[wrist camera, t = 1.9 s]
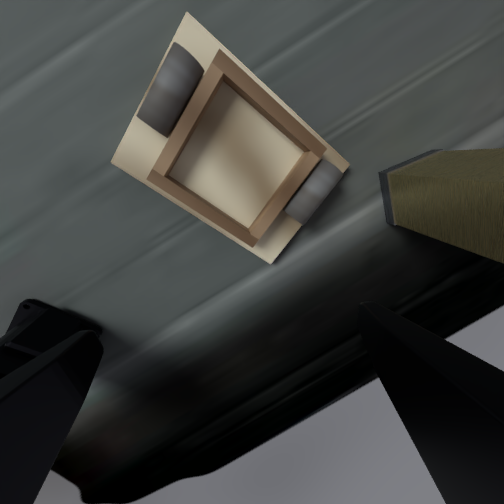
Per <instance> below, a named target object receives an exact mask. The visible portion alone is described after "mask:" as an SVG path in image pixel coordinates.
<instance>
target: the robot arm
mask: <svg viewBox="0 0 504 504" xmlns="http://www.w3.org/2000/svg"><path fill="white" fill-rule="evenodd" d="M28 305H29V306H28ZM357 324H358V328H359V331H360V333H361V336H362V338H363V341H364V343H365V346H366V348H367V351H368V353H369V356H370V358H371V360H372V363H373V365H374V368H375V370H376V372H377V375H378V377H379V378H380V380H381V382H382V384H383V386H384V388H385V390H386V392H387V394H388V396H389V397H390V399H391V401H392V403H393V405H394V407H395V409H396V411H397V413H398V414H399V416H400V418H401V420H402V422H403V424H404V426H405V428H406V429H407V431H408V433H409V435H410V437H411V439H412V440H413V443H414V444H415V446H416V448H417V450H418V452H419V454H420V456H421V458H422V460H423V461H424V463H425V465H426V467H427V469H428V471H429V473H430V475H431V476H432V478H433V480H434V482H435V484H436V486H437V488H438V490H439V491H440V493H441V495H442V497H443V499H444V501H445V503H446V504H504V371H502V370H500V369H498V368H496V367H494V366H493V365H491V364H489V363H487V362H485V361H483V360H481V359H480V358H478V357H476V356H474V355H472V354H470V353H468V352H467V351H465V350H463V349H461V348H459V347H457V346H456V345H454V344H452V343H450V342H448V341H446V340H444V339H443V338H441V337H439V336H437V335H435V334H433V333H432V332H430V331H428V330H426V329H424V328H422V327H420V326H419V325H417V324H415V323H413V322H411V321H409V320H408V319H406V318H404V317H402V316H400V315H398V314H396V313H395V312H393V311H391V310H389V309H387V308H385V307H383V306H382V305H380V304H378V303H376V302H374V301H368V302H361V303H360V305H359V311H358V320H357ZM95 332H97V333H95ZM102 332H103V331H102V329H101V328H100V327H98V326H96V325H93V324H91V323H88V322H86V321H83V320H81V319H79V318H76V317H74V316H71V315H69V314H66V313H64V312H61V311H59V310H57V309H54V308H52V307H49V306H47V305H44V304H42V303H39V302H37V301H35V300H32V299H26V300H24V301H23V302H21V303H20V305H19V307H18V309H17V311H16V313H15V315H14V317H13V320H12V322H11V324H10V326H9V328H8V330H7V332H6V334H5V335H4V336H2V337H1V338H0V504H33V503H34V501H35V499H36V497H37V495H38V493H39V491H40V489H41V487H42V485H43V483H44V481H45V479H46V477H47V475H48V473H49V471H50V469H51V467H52V465H53V463H54V461H55V459H56V457H57V455H58V453H59V451H60V449H61V447H62V445H63V443H64V441H65V439H66V437H67V435H68V433H69V431H70V429H71V427H72V425H73V423H74V421H75V419H76V417H77V415H78V413H79V411H80V409H81V407H82V405H83V403H84V400H85V398H86V396H87V393H88V391H89V388H90V386H91V383H92V381H93V378H94V376H95V373H96V371H97V368H98V366H99V363H100V360H101V358H102V355H103V352H104V348H103V345H102V343H101V342H100V340H99V337H100V335H101V334H102Z"/></svg>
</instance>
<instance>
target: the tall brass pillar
mask: <svg viewBox="0 0 504 504" xmlns="http://www.w3.org/2000/svg"><path fill="white" fill-rule="evenodd" d="M379 178H380V184H381V190H382V196H383V203H384V209H385V215H386V221H387V223H389V224H392V225H394V226H395V225H399V226H402V227H405V228H408V229H410V230H413V231H416V232H419V233H421V234H424V235H427V236H430V237H432V238H435V239H438V240H441V241H443V242H446V243H449V244H452V245H454V246H457V247H460V248H462V249H465V250H468V251H471V252H473V253H476V254H479V255H482V256H484V257H487V258H490V259H493V260H495V261H498V262H501V263H504V148H499V149H477V150H455V151H443V149H439V150H430V151H428V152H426V153H423V154H421V155H419V156H416V157H414V158H412V159H409V160H407V161H405V162H402V163H400V164H397V165H395V166H393V167H390V168H388V169H386V170H383V171H381V172H379Z"/></svg>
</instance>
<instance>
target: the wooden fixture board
mask: <svg viewBox="0 0 504 504" xmlns="http://www.w3.org/2000/svg"><path fill="white" fill-rule="evenodd" d="M111 163H113V164H114V165H116V166H117V167H119V168H120V169H122V170H124V171H125V172H127V173H128V174H130V175H131V176H133V177H134V178H136V179H138V180H139V181H141V182H142V183H144V184H145V185H147V186H149V187H150V188H152V189H153V190H155V191H156V192H158V193H160V194H161V195H163V196H164V197H166V198H167V199H169V200H171V201H172V202H174V203H175V204H177V205H178V206H180V207H182V208H183V209H185V210H186V211H188V212H189V213H191V214H193V215H194V216H196V217H197V218H199V219H200V220H202V221H204V222H205V223H207V224H208V225H210V226H211V227H213V228H215V229H216V230H218V231H219V232H221V233H222V234H224V235H226V236H227V237H229V238H230V239H232V240H233V241H235V242H237V243H238V244H240V245H241V246H243V247H244V248H246V249H248V250H249V251H251V252H252V253H254V254H255V255H257V256H259V257H260V258H262V259H263V260H265V261H266V262H268V263H270V264H272V262H273V261H274V260H275V259H276V257H277V256H278V255H279V254H280V252H281V251H282V250H283V248H284V247H285V246H286V245H287V243H288V242H289V241H290V240H291V238H292V237H293V236H294V235H295V233H296V232H297V231H298V230H299V228H300V227H301V226H302V225H303V226H304V225H305V223H306V222H307V221H308V220H309V218H310V217H311V216H312V215H313V213H314V212H315V211H316V210H317V208H318V207H319V206H320V205H321V203H322V202H323V201H324V200H325V198H326V197H327V196H328V194H329V193H330V192H331V191H332V189H333V188H334V187H335V186H336V184H337V183H338V182H339V181H340V179H341V178H342V177H343V173H344V171H345V170H346V169H347V168H348V166H349V165H350V164H349V163H348V162H347V161H346V160H345V159H344V158H343V157H342V156H341V155H340V154H338V153H337V152H336V151H335V150H334V149H333V148H332V147H331V146H330V145H329V144H328V143H327V142H326V141H325V140H324V139H322V138H321V137H320V136H319V135H318V134H317V133H316V132H315V131H314V130H313V129H312V128H311V127H310V126H309V125H308V124H306V123H305V122H304V121H303V120H302V119H301V118H300V117H299V116H298V115H297V114H296V113H295V112H294V111H293V110H292V109H290V108H289V107H288V106H287V105H286V104H285V103H284V102H283V101H282V100H281V99H280V98H279V97H278V96H277V95H276V94H274V93H273V92H272V91H271V90H270V89H269V88H268V87H267V86H266V85H265V84H264V83H263V82H262V81H261V80H260V79H258V78H257V77H256V76H255V75H254V74H253V73H252V72H251V71H250V70H249V69H248V68H247V67H246V66H245V65H244V64H242V63H241V62H240V61H239V60H238V59H237V58H236V57H235V56H234V55H233V54H232V53H231V52H230V51H229V50H228V49H226V48H225V47H224V46H223V45H222V44H221V43H220V42H219V41H218V40H217V39H216V38H215V37H214V36H213V35H211V34H210V33H209V32H208V31H207V30H206V29H205V28H204V27H203V26H202V25H201V24H200V23H199V22H198V21H197V20H195V19H194V18H193V17H192V16H191V15H190V14H189V13H188V12H186V14H185V16H184V18H183V20H182V22H181V24H180V26H179V28H178V30H177V32H176V34H175V36H174V38H173V40H172V42H171V44H170V46H169V48H168V50H167V51H166V53H165V55H164V57H163V59H162V61H161V63H160V65H159V67H158V69H157V71H156V73H155V75H154V77H153V79H152V81H151V83H150V85H149V87H148V89H147V91H146V93H145V95H144V97H143V99H142V101H141V103H140V105H139V107H138V109H137V111H136V113H135V115H134V117H133V119H132V121H131V123H130V125H129V127H128V129H127V131H126V133H125V135H124V137H123V139H122V141H121V143H120V145H119V146H118V148H117V150H116V152H115V154H114V156H113V158H112V160H111Z"/></svg>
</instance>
